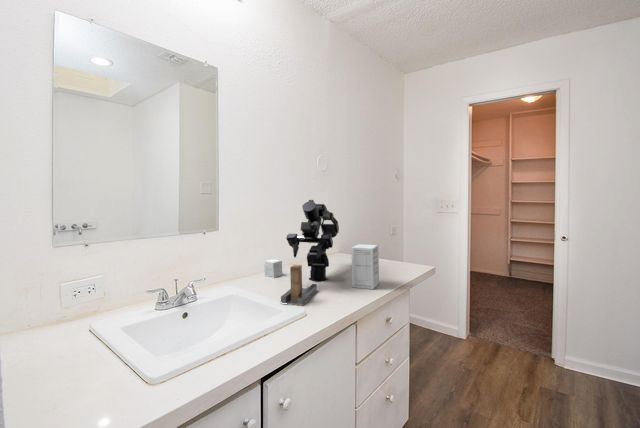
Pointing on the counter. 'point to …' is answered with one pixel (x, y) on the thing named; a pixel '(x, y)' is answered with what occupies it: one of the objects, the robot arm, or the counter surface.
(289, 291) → the bottom track
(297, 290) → the brown wooden block
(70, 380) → the counter surface
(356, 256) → the supplement box
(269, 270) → the product box
